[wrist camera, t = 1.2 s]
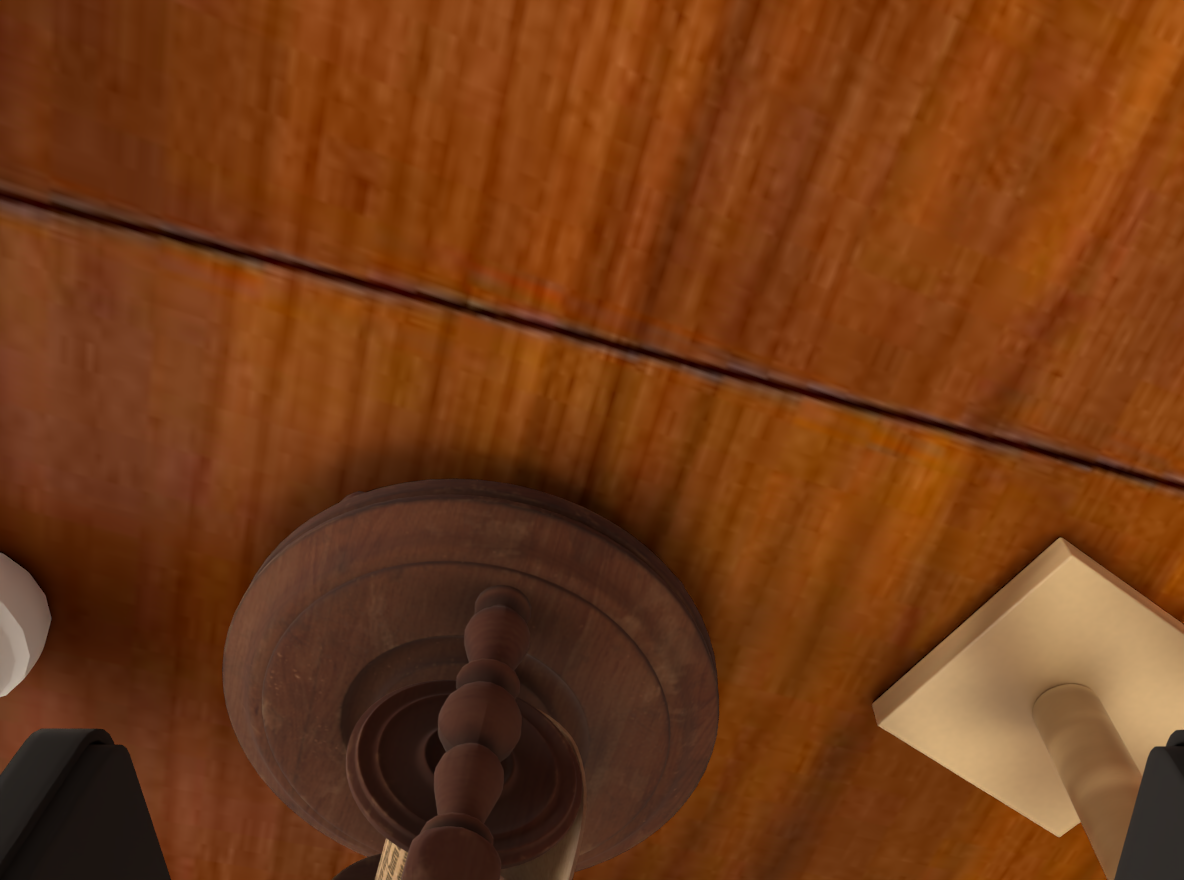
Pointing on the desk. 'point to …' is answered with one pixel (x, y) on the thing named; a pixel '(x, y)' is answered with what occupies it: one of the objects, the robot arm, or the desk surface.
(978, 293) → the desk surface
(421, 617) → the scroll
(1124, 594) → the wooden peg stand
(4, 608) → the bottle
